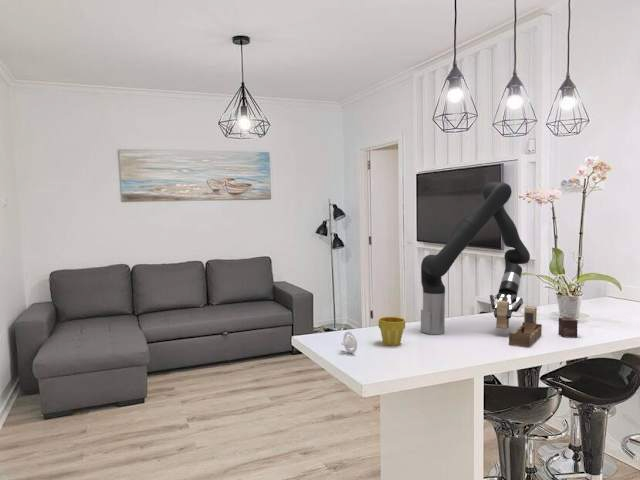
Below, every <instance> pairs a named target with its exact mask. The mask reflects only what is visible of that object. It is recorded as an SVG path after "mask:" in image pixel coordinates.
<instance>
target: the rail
mask: <svg viewBox="0 0 640 480" xmlns="http://www.w3.org/2000/svg"><path fill="white" fill-rule="evenodd" d="M523 311H524V313H523V314H524V316H523V322H522V325H521V326H520V327H518V328H516V330H515V331H514V332H509V333H508V345H509V346H514V347H521V348H526V349H527V348H529V349H530V348H531V347H532V346H533V344H535V343H536V342H537V340H539V339H540V337H541V336H542V330H543V327H542V326H543V325H542V324H541V323H537V315H538V314H537V311H538V309H537V306H529V305H527V306H524V310H523Z"/></svg>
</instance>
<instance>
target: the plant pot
mask: <svg viewBox="0 0 640 480" xmlns="http://www.w3.org/2000/svg"><path fill="white" fill-rule="evenodd" d="M378 328H379V330H380V335H381V339H382V344H383V345H384V346H388V347H389V346H390V347H396V346H400V345H401V341H402V337H403V333H404V330H405V329H406V319H405V318H403V317H399V316H398V317H397V316H383V317H379V318H378Z"/></svg>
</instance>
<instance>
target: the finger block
mask: <svg viewBox="0 0 640 480" xmlns="http://www.w3.org/2000/svg"><path fill="white" fill-rule="evenodd" d="M496 302H497V303H496V304H497V318H496V324H495V325H496V327H495V328H497V329H500V330H501V329H502V330H507V329H509V326H510V325H509V324H510V319H509V320H508V319H507V318H506V315H507V311H508V309H509V302H510V301H502V300H499V301H498V300H497V301H496Z"/></svg>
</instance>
